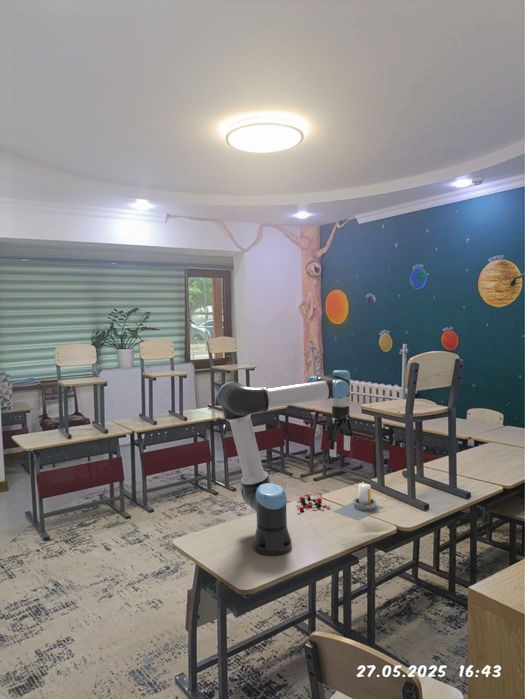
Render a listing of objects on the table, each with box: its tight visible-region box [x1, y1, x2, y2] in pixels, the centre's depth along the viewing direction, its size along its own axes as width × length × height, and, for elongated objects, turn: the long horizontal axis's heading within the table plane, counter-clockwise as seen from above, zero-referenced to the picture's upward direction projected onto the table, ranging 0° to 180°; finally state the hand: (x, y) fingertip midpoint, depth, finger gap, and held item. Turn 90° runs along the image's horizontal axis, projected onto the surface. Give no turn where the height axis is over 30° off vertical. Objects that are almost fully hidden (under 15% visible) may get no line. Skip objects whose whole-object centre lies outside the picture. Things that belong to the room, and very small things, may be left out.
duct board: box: [332, 502, 385, 521], centre depth 223 cm, size 20×14×1 cm
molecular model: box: [296, 492, 331, 513], centre depth 229 cm, size 10×12×15 cm
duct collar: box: [352, 497, 377, 511], centre depth 226 cm, size 10×10×2 cm
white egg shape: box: [358, 483, 372, 505], centre depth 225 cm, size 6×6×10 cm
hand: (340, 453), depth 216 cm, fingers open, 13 cm apart
